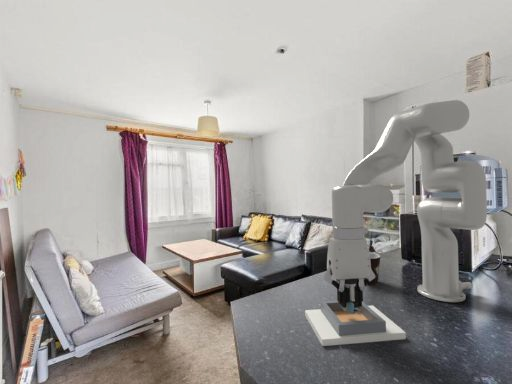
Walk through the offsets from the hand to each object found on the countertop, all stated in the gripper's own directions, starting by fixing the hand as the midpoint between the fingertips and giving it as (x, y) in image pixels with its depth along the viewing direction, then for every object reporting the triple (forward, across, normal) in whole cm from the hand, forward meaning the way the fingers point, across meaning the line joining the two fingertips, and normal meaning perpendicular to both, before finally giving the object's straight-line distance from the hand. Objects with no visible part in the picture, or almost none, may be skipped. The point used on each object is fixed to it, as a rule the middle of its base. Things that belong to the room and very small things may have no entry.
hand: (350, 304), depth 64 cm
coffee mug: (+6, -19, -28) cm, 34 cm away
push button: (+2, 0, 0) cm, 2 cm away
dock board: (+6, 0, 0) cm, 6 cm away
